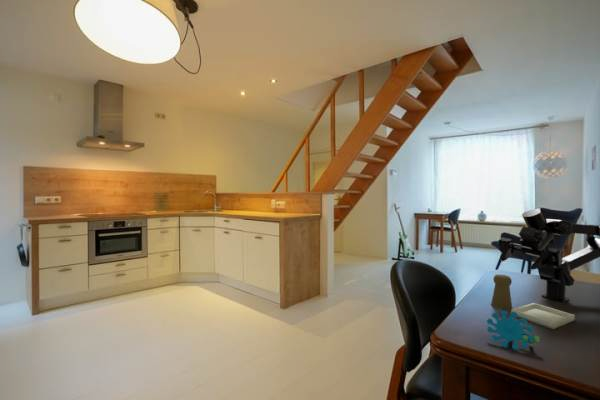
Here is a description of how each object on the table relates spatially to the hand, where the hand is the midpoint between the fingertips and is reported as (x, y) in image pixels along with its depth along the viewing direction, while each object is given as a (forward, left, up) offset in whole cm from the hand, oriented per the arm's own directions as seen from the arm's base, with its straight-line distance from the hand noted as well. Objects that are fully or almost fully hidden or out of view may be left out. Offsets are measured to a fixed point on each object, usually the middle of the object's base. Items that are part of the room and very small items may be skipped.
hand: (516, 264), depth 103 cm
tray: (+4, +10, -15) cm, 18 cm away
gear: (+32, +15, -15) cm, 38 cm away
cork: (+6, -1, -15) cm, 16 cm away
